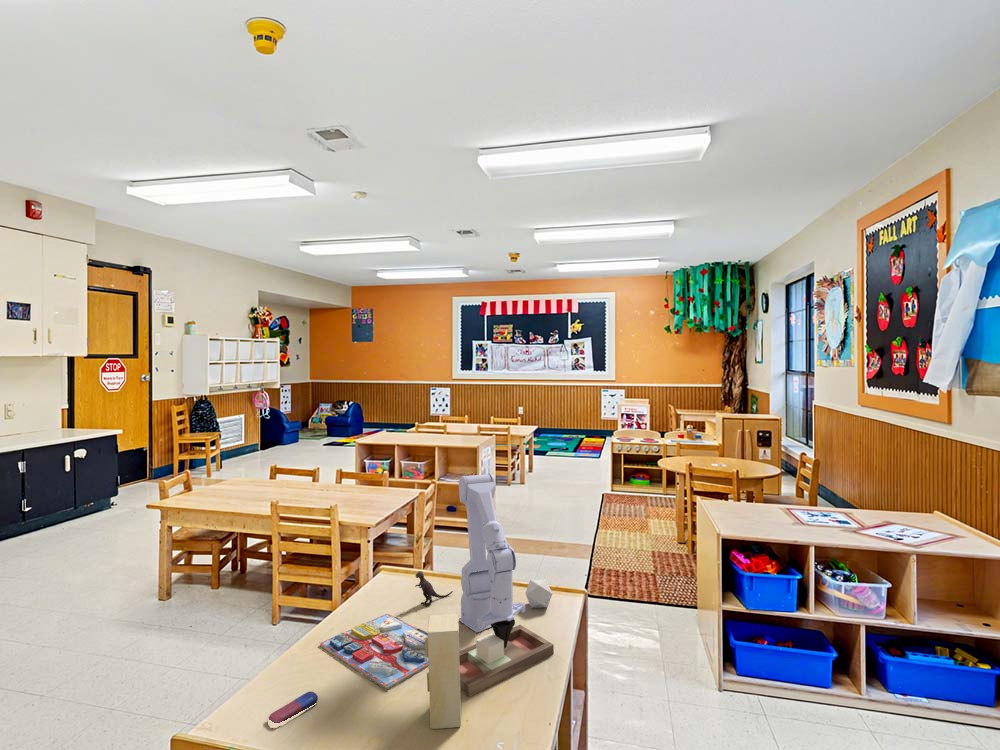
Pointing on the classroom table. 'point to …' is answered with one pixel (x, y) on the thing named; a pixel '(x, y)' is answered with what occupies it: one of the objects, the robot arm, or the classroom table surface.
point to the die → (538, 593)
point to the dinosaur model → (427, 589)
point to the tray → (502, 660)
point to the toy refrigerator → (443, 671)
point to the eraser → (294, 707)
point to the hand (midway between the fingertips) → (502, 646)
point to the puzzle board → (382, 650)
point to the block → (490, 648)
